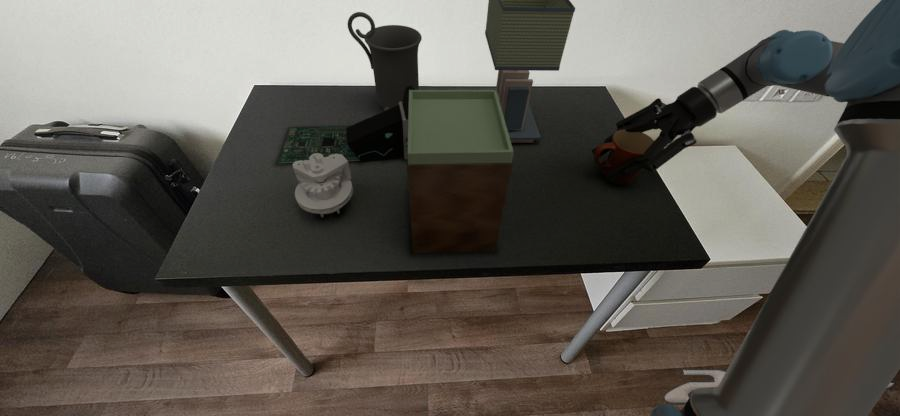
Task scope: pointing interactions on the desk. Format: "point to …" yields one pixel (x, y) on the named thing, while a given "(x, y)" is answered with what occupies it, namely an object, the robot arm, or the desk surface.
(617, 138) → the mug
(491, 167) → the plinth
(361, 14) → the mug
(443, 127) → the tray
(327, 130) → the circuit board
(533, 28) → the desk lamp
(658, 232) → the desk surface
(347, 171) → the mechanical part
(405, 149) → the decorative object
